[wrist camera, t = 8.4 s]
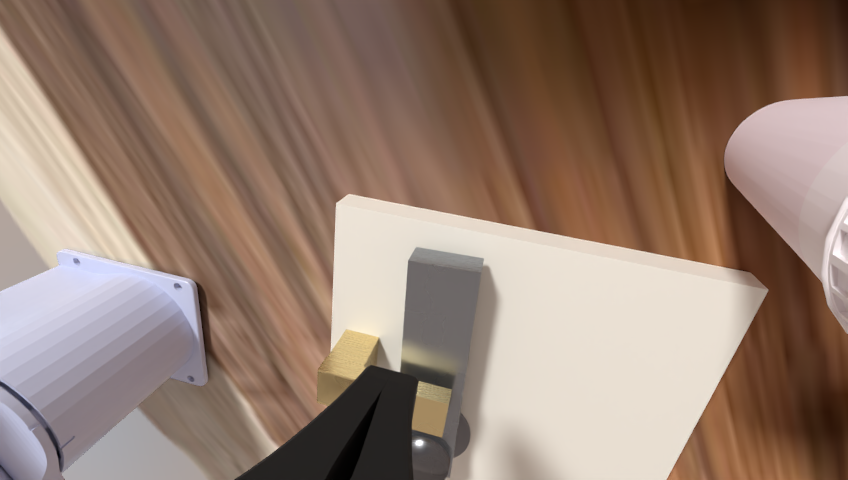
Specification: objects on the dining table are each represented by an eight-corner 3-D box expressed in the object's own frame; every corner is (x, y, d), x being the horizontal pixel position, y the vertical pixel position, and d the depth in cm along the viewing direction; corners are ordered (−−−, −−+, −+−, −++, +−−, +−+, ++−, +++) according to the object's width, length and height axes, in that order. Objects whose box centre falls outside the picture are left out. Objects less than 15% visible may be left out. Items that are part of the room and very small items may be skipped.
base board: (337, 429, 27) (325, 451, 26) (348, 194, 21) (334, 204, 19) (628, 512, 24) (634, 542, 23) (750, 272, 18) (771, 292, 16)
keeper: (344, 357, 23) (317, 402, 20) (346, 327, 22) (317, 369, 19) (453, 386, 22) (442, 437, 19) (459, 355, 21) (448, 404, 18)
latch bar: (453, 460, 23) (447, 491, 21) (400, 446, 24) (390, 476, 22) (484, 258, 18) (479, 279, 16) (416, 247, 19) (404, 266, 17)
